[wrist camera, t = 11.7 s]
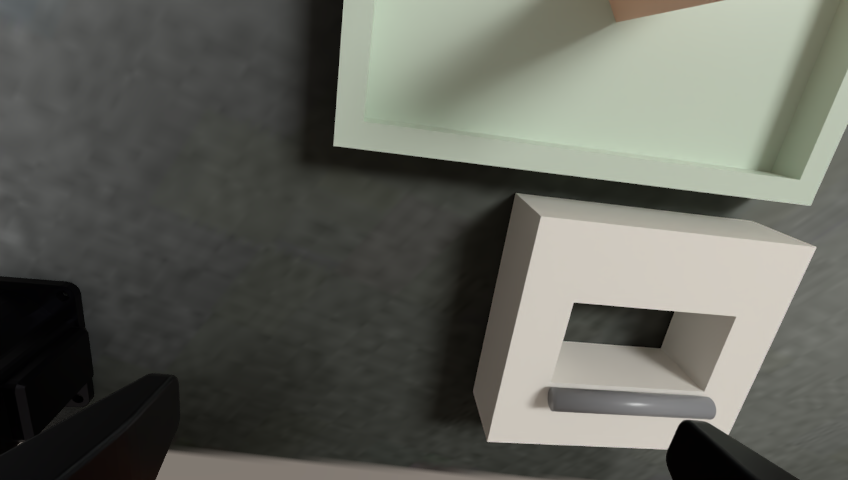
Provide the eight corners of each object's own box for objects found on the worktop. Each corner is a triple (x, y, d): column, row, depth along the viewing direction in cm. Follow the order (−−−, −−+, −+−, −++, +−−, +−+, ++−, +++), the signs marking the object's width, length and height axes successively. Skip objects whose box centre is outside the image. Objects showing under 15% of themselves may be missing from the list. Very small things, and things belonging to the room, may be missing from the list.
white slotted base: (472, 391, 24) (492, 459, 20) (515, 192, 20) (550, 224, 16) (677, 403, 26) (735, 468, 21) (751, 220, 22) (839, 256, 18)
